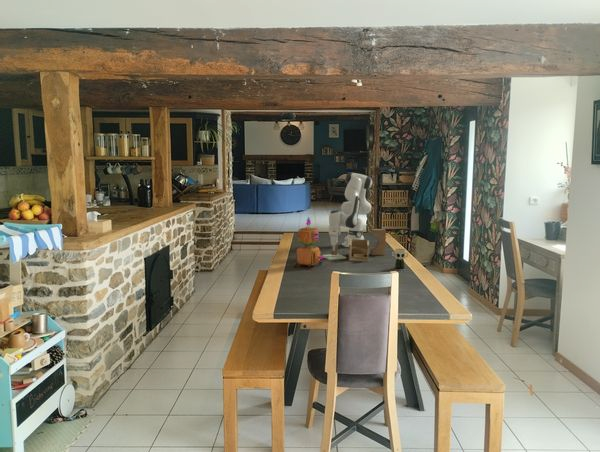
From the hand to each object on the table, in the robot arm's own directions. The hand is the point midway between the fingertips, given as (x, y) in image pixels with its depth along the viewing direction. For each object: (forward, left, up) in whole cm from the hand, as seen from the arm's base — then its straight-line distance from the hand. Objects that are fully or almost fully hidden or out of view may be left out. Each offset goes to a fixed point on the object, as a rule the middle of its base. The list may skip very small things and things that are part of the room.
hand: (334, 249), depth 376 cm
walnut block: (0, 0, -4) cm, 4 cm away
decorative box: (+24, -28, -6) cm, 37 cm away
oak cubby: (+6, +18, -6) cm, 20 cm away
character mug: (+48, +28, -6) cm, 56 cm away
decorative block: (-1, +38, -6) cm, 38 cm away
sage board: (0, 0, -6) cm, 6 cm away
